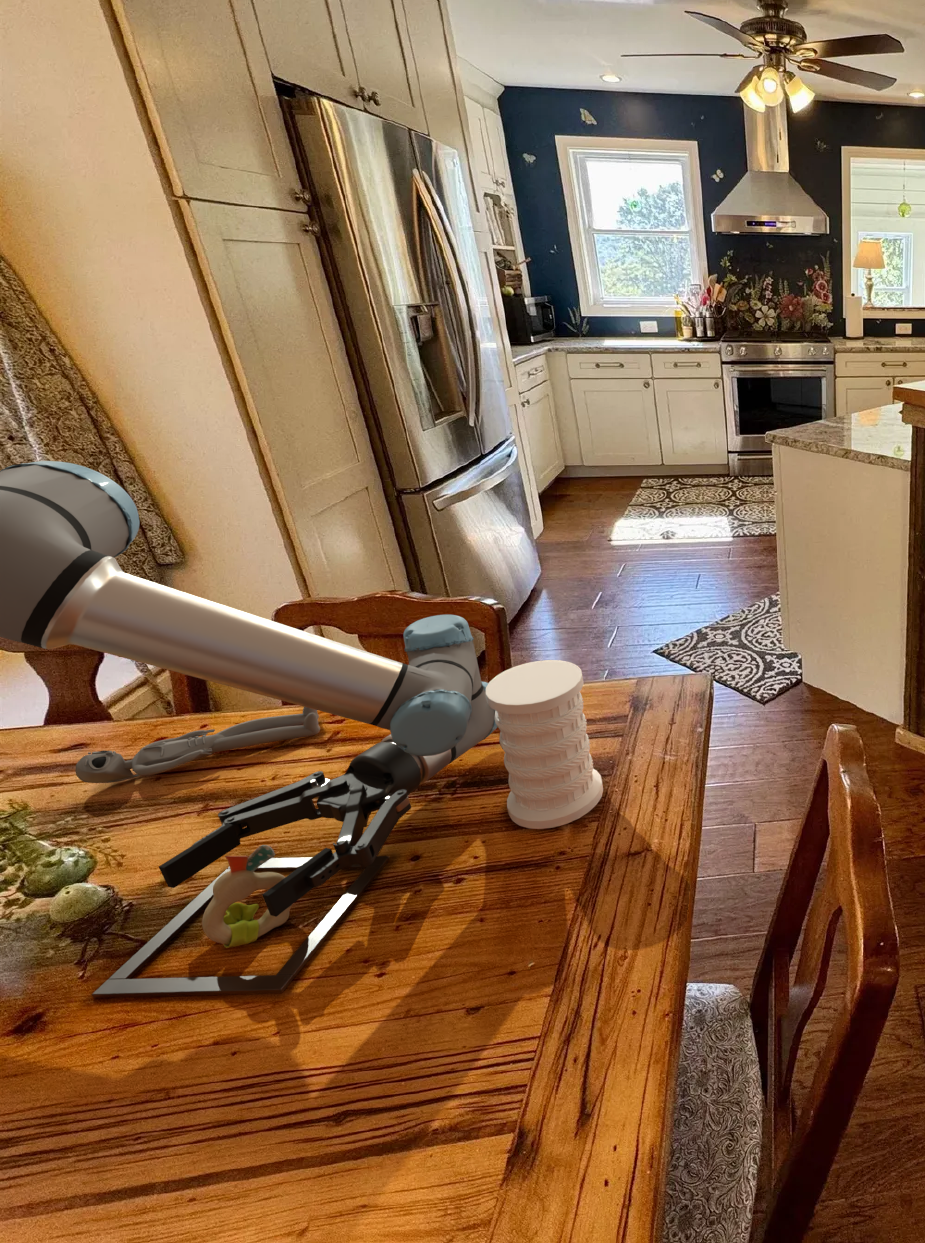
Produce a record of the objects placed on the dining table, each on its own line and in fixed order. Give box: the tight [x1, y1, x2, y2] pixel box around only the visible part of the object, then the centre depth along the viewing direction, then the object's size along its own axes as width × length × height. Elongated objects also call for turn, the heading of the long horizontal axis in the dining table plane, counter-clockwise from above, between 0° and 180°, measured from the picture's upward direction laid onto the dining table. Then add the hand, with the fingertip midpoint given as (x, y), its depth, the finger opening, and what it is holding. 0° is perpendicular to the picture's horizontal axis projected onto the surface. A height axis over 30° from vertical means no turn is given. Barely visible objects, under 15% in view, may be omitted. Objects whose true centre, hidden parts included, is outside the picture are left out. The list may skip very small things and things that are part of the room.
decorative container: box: [486, 659, 604, 830], centre depth 91 cm, size 12×12×18 cm
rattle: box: [201, 844, 293, 949], centre depth 73 cm, size 8×8×12 cm
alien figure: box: [74, 706, 321, 784], centre depth 100 cm, size 8×5×25 cm
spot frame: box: [91, 855, 391, 999], centre depth 75 cm, size 17×17×1 cm
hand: (216, 891), depth 71 cm, fingers open, 13 cm apart
